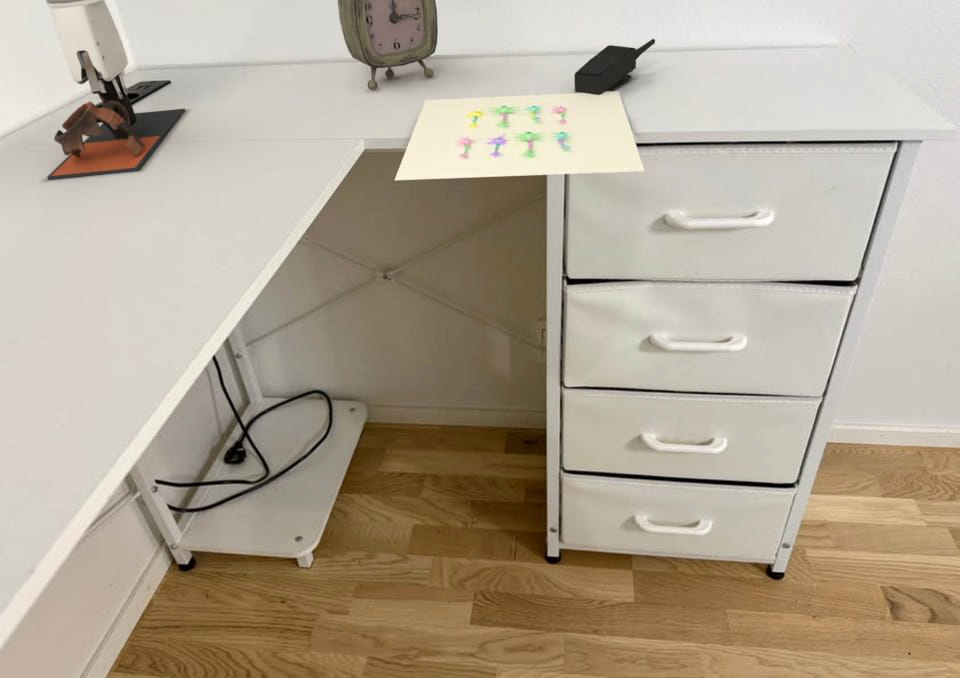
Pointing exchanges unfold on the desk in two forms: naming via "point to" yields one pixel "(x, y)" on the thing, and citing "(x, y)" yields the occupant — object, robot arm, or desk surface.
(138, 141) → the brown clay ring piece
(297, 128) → the desk surface
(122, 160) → the desk mat
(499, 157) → the printed paper
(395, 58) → the tabletop clock
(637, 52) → the walkie-talkie
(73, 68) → the robot arm
